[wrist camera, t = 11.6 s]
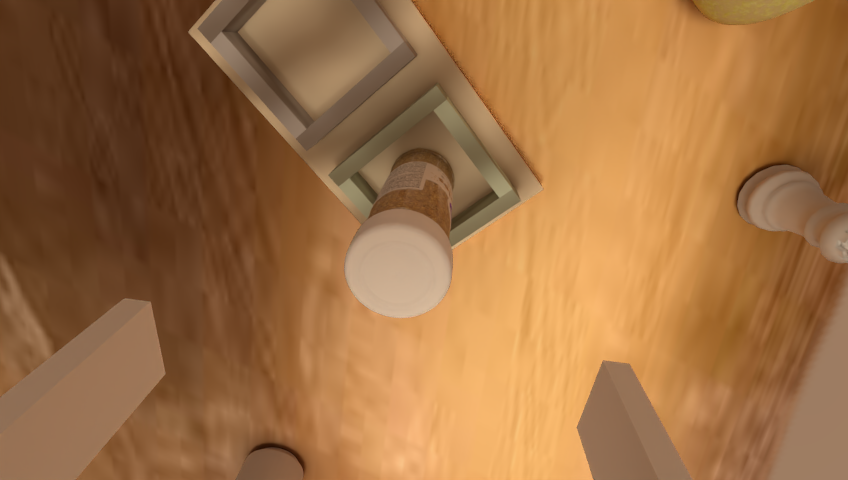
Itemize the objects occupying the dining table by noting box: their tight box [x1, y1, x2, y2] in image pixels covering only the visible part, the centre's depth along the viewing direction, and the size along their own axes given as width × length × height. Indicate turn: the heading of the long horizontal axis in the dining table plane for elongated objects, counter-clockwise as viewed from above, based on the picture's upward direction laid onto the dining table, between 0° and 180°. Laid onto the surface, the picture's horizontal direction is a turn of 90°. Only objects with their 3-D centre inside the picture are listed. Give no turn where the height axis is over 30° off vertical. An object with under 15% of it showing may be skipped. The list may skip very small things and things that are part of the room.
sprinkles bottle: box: [344, 148, 455, 318], centre depth 23 cm, size 5×5×13 cm
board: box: [188, 0, 544, 250], centre depth 27 cm, size 22×12×3 cm, turn 38°
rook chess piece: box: [737, 165, 848, 263], centre depth 26 cm, size 4×4×8 cm
